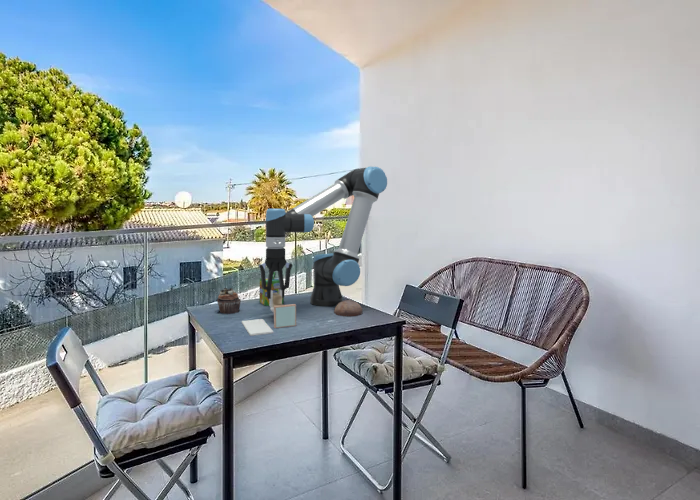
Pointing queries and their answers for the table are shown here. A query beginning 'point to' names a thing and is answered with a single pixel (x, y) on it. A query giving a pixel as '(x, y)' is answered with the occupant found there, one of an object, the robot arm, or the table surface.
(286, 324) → the tile
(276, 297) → the beige boxy piece
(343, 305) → the decorative stone
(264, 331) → the mat
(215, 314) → the table surface
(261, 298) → the chalk box
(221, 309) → the cupcake
